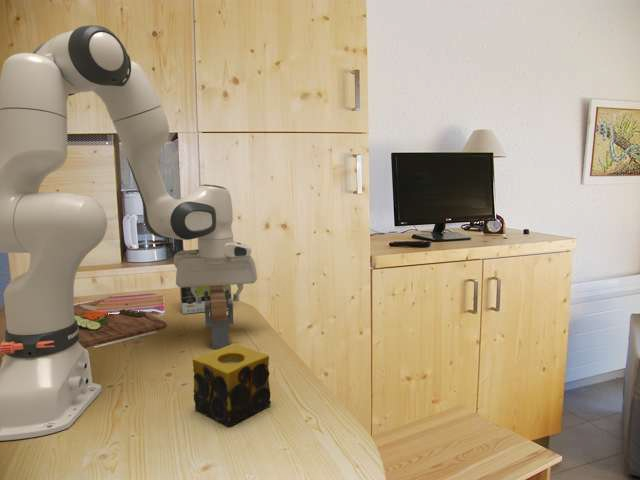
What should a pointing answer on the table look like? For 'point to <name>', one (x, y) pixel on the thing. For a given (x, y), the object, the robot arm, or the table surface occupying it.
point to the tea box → (190, 300)
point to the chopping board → (112, 325)
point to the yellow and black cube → (231, 384)
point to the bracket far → (227, 296)
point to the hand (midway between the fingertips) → (217, 301)
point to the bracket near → (219, 327)
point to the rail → (217, 303)
